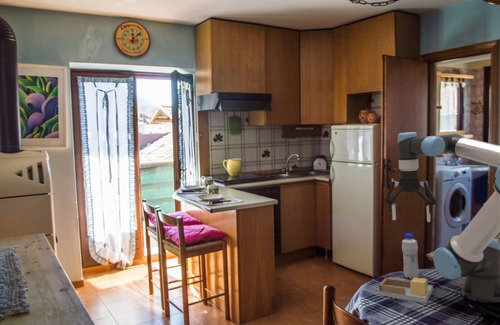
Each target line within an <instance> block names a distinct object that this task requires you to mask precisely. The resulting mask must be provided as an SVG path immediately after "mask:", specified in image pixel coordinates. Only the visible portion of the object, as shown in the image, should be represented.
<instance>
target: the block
mask: <svg viewBox="0 0 500 325" xmlns="http://www.w3.org/2000/svg"><path fill="white" fill-rule="evenodd" d="M410 280H411V281H410V283H411V294H415V295H422V296H425V295H426V294H427V292H428V286H427V285H428V278H422V277H418V278H415V277H412V279H410Z"/></svg>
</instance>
